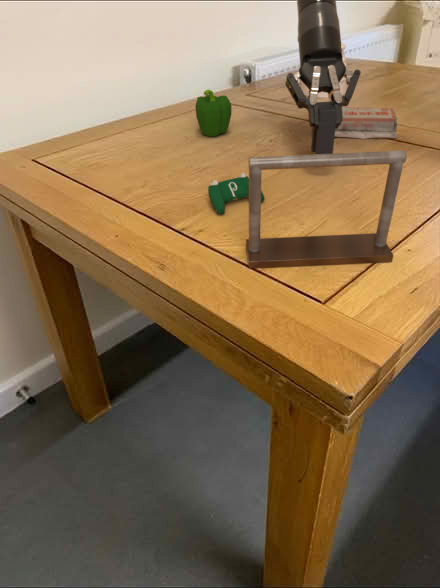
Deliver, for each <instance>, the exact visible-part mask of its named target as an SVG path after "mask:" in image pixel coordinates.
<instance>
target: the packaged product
mask: <svg viewBox="0 0 440 588" xmlns="http://www.w3.org/2000/svg"><path fill="white" fill-rule="evenodd" d="M342 114H343V120H342V123H341V125H339V127H338V129H335V136H334V138H353V139H360V140H361V139H362V140H366V139H397V138H398V133H397V128H398V117H397V113H396V109H394V108H391V107H389V108H388V107H355V106H353V107H352V106H350V107H348V106H342Z"/></svg>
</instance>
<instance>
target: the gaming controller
mask: <svg viewBox="0 0 440 588" xmlns="http://www.w3.org/2000/svg"><path fill="white" fill-rule="evenodd" d="M207 191H208V193H207V194H208V198H209V201H210V203H211V205H212V207H213V209H214V210H215V212H217V214H218V215H223V214H225V213H226V205H225V204H228V203H230V202H232V201H236V200H242V199H244V198H245V197H246V198H247V199H249V176H247V173H246V172H241V173H240V174H239V175H238V176H237V177H234V178H229V179H226V180H222V181H218V180H217V179H214V180H213V181H211V182H210V183H209V184H208V187H207ZM265 200H266V199H265V195H264V192H263V191H262V190H261V204H262V203H264V201H265Z"/></svg>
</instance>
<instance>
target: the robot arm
mask: <svg viewBox="0 0 440 588" xmlns="http://www.w3.org/2000/svg"><path fill="white" fill-rule="evenodd" d="M296 9H297V43H298V53H299V68H298V71H296V72H295V73H293V72H288V73H287V75H286V79H285V83H284V85H285V86H286V88H287V90H288V92H289V94H290V96H291V97H292V99H293V101H294V102H295V105H296V106H297V108H298V109H300V110H301V109H305V110H307V113H308V114H307V115H308V125H309V127H310V128H312V129H313V130H317V129H318V127H319V116H318V105H316V102H318V97H317V93H320V92H326V93H328V97H329V98H328V99H329V101H330V102H331V103H332V104H333V105H334V107H335V108H336V109H337V117H336V127H335V129H338V127H339V125H341V123H342V120H343V114H342V107H348V106H349V104H350V101H351V100H352V98H353V95H354V92H355V91H356V90H355V89H356V88H357V84H358V82H359V79H360V77H361V73H362V72H361V70H360V69H355V70H350V69H348V68H347V69H346V66H345V65H344V63H343V60H342V47H341V42H342V38H341V26H340V19H339V15H338V10H337V9H338V8H337V0H296ZM343 76H344V77H345V78H346V83H347V88H346V93H345V94H344V95H341V93H340V85H339V82H340V81H341V79H342V78H343ZM301 81H302V82H303V83H304V84H305V85H306V86H307V88H308V89H309V96H306V95H304V93H303V91H302V89H301V85H300V83H301Z"/></svg>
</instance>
